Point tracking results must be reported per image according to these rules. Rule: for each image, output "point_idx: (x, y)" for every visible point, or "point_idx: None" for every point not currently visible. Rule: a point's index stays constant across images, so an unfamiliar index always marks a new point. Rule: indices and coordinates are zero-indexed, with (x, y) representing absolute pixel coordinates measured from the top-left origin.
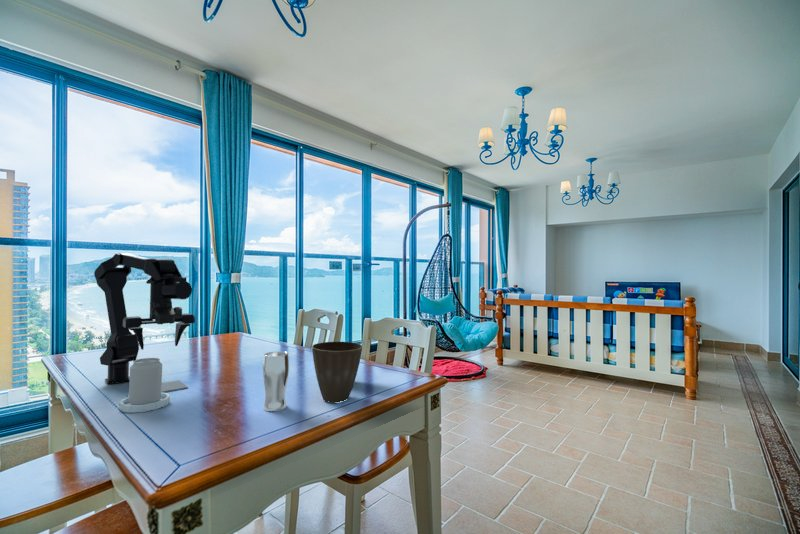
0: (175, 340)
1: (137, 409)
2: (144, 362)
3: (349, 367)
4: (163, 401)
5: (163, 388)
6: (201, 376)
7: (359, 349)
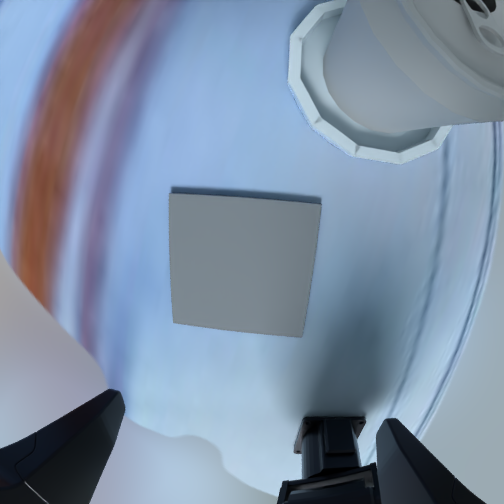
0: (104, 437)
1: None
2: (466, 110)
3: None
4: (328, 3)
5: (256, 245)
6: (100, 321)
7: None
